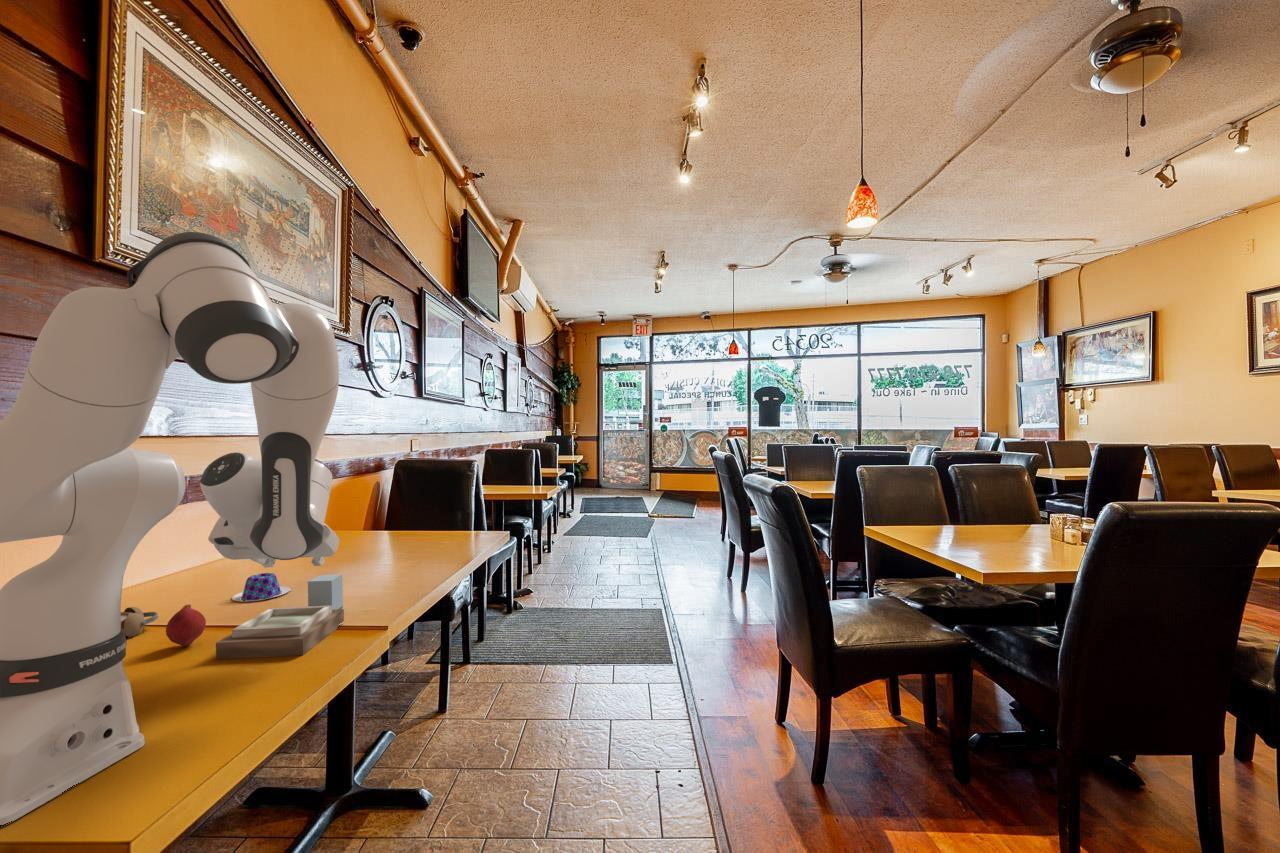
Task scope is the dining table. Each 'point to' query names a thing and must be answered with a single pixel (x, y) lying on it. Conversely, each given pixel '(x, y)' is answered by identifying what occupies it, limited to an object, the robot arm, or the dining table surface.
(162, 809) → the dining table surface
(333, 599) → the light blue-grey block
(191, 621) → the onion
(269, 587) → the purple and white hat
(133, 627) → the alarm clock
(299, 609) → the tray
